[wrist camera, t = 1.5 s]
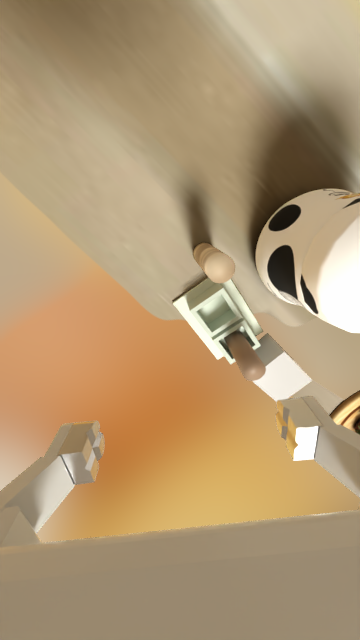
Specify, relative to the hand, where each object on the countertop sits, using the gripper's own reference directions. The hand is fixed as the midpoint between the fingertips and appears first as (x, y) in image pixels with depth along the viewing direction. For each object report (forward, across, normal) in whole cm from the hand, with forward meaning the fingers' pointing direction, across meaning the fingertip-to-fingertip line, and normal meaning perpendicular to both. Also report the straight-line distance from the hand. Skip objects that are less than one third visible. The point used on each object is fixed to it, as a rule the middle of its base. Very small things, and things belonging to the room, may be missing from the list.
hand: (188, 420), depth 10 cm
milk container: (+34, -22, -2) cm, 40 cm away
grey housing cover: (+35, -17, +21) cm, 44 cm away
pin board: (+34, -7, +10) cm, 36 cm away
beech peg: (+33, -5, -3) cm, 33 cm away
